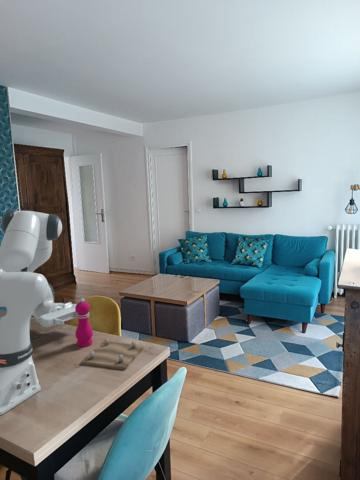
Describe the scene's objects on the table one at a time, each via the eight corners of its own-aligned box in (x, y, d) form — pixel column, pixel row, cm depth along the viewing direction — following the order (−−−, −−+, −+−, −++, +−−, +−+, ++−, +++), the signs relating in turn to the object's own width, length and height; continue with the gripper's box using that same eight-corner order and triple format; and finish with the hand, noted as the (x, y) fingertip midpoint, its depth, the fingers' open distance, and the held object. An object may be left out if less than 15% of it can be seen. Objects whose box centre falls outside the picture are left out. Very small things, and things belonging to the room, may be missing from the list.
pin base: (125, 369, 124) (124, 360, 124) (81, 364, 129) (80, 354, 129) (143, 348, 142) (143, 339, 141) (104, 343, 146) (103, 335, 146)
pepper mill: (95, 340, 150) (93, 296, 147) (89, 347, 143) (87, 301, 140) (79, 340, 151) (77, 295, 148) (73, 347, 143) (70, 301, 141)
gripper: (32, 313, 148) (52, 319, 140) (72, 300, 164) (91, 305, 156) (33, 327, 149) (53, 334, 141) (73, 313, 165) (92, 319, 157)
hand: (73, 319), depth 149 cm, fingers open, 8 cm apart
